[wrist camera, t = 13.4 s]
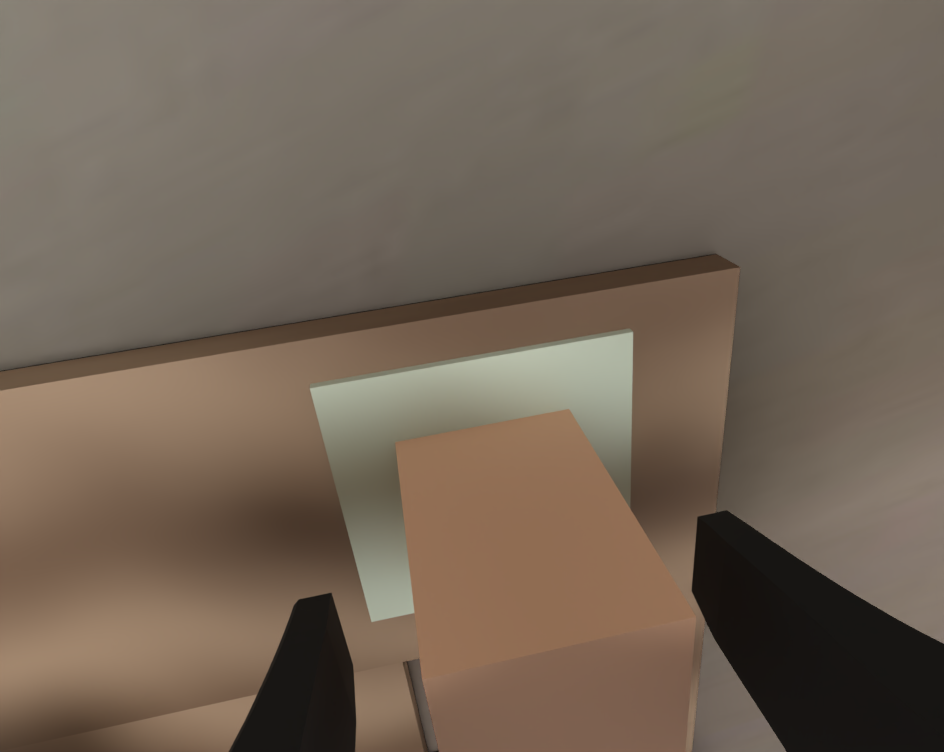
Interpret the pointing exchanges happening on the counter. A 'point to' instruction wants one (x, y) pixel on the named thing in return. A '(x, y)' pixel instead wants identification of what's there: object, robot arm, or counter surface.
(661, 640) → the block
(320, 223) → the counter surface
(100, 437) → the board
